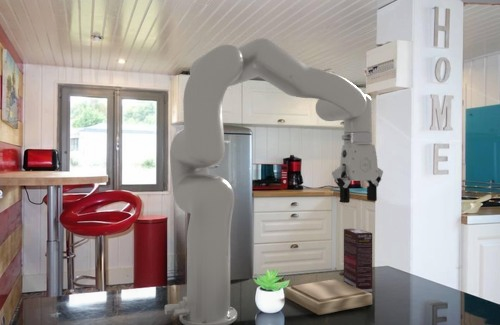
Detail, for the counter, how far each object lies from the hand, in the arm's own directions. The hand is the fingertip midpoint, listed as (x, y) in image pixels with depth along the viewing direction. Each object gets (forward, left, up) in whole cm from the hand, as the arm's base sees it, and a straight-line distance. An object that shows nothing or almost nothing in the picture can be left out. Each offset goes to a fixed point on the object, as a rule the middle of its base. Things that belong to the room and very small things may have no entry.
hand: (358, 201), depth 113 cm
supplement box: (0, 0, -24) cm, 24 cm away
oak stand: (-14, -5, -24) cm, 28 cm away
